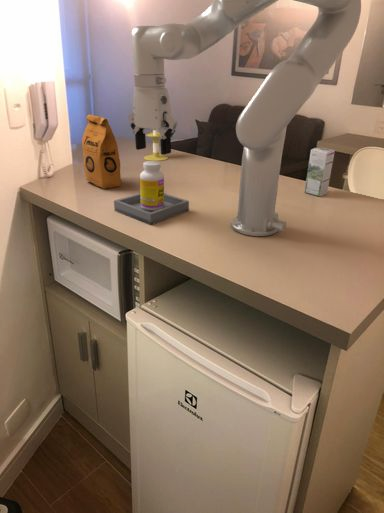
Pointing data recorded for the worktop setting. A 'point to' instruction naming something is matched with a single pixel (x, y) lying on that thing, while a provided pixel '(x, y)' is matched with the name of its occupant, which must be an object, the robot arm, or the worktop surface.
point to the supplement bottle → (152, 186)
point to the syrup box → (319, 171)
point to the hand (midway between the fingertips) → (153, 151)
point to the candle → (155, 148)
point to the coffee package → (101, 153)
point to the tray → (134, 210)
